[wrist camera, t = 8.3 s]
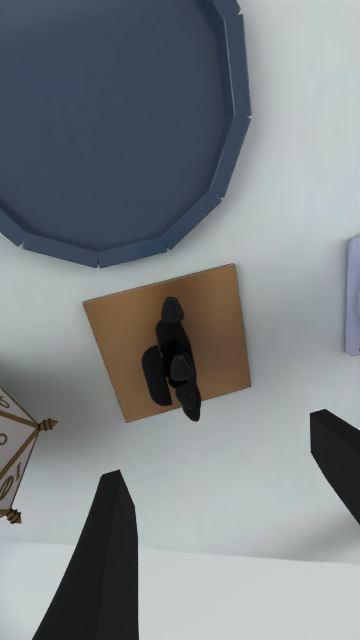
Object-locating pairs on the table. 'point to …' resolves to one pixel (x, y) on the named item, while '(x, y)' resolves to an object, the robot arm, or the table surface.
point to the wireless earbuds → (172, 362)
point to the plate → (117, 122)
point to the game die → (15, 450)
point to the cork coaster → (199, 324)
